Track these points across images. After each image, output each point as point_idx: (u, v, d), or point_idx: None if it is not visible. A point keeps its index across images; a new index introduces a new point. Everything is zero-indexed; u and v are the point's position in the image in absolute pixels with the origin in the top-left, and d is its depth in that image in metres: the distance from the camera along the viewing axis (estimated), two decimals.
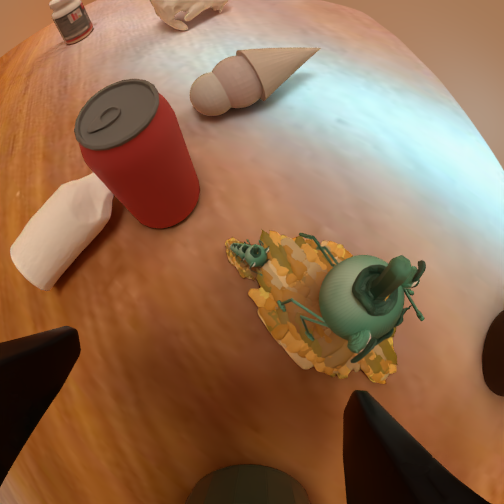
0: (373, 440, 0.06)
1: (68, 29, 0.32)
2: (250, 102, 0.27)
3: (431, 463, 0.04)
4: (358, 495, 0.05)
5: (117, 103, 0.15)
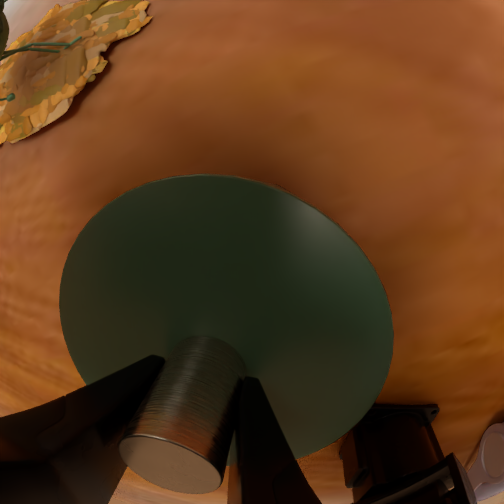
0: (238, 428, 0.06)
1: None
2: None
3: (287, 465, 0.05)
4: (230, 486, 0.06)
5: None
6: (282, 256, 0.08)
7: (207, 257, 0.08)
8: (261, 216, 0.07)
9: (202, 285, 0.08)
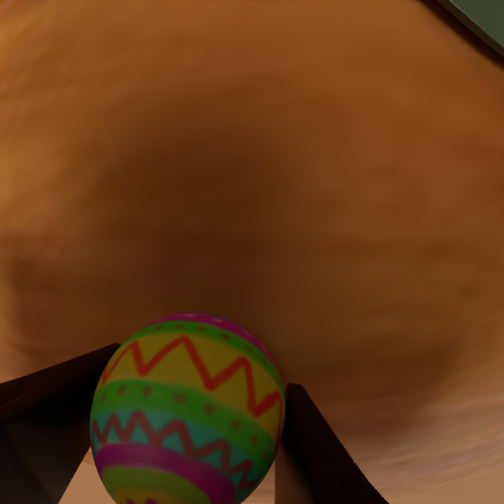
0: (292, 436, 0.06)
1: None
2: None
3: (349, 469, 0.05)
4: (281, 493, 0.05)
5: None
6: None
7: None
8: None
9: None
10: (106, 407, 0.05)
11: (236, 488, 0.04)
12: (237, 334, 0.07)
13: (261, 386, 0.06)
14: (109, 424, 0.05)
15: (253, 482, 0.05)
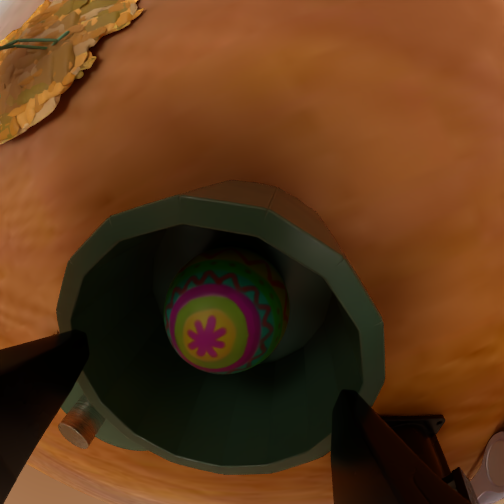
0: (359, 440, 0.06)
1: None
2: None
3: (417, 465, 0.04)
4: (344, 495, 0.05)
5: None
6: None
7: None
8: None
9: None
10: (186, 276, 0.10)
11: (261, 322, 0.09)
12: (260, 255, 0.12)
13: (274, 275, 0.11)
14: (188, 281, 0.10)
15: (270, 327, 0.10)
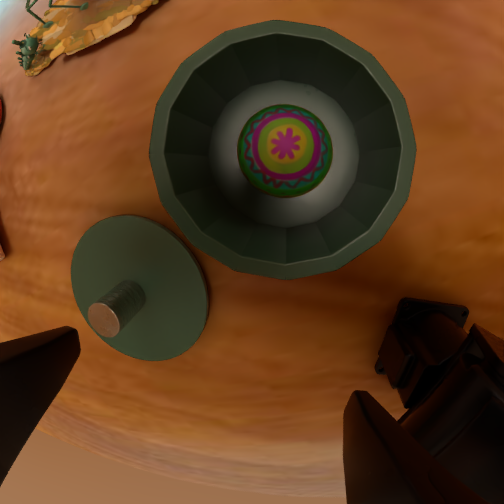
0: (373, 440, 0.06)
1: None
2: None
3: (431, 463, 0.04)
4: (358, 495, 0.05)
5: None
6: (152, 246, 0.19)
7: (127, 247, 0.19)
8: (143, 231, 0.19)
9: (126, 258, 0.20)
10: (260, 114, 0.13)
11: (320, 140, 0.12)
12: None
13: (321, 121, 0.14)
14: (265, 114, 0.12)
15: (326, 146, 0.13)
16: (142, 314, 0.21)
